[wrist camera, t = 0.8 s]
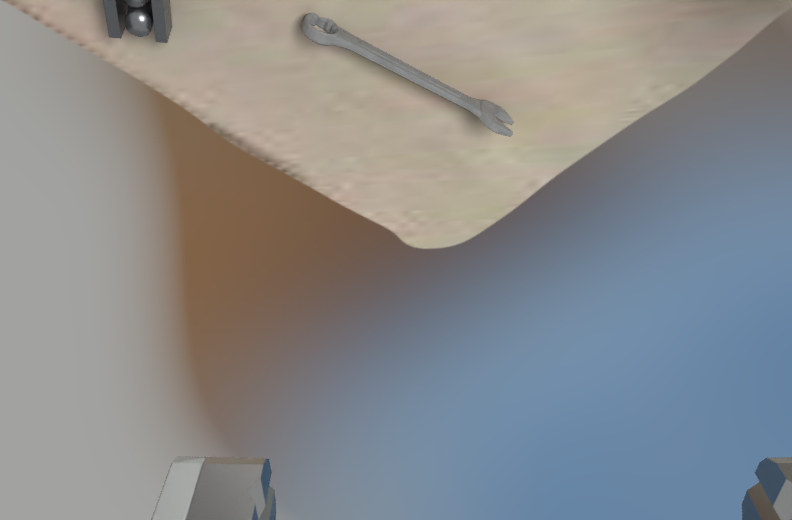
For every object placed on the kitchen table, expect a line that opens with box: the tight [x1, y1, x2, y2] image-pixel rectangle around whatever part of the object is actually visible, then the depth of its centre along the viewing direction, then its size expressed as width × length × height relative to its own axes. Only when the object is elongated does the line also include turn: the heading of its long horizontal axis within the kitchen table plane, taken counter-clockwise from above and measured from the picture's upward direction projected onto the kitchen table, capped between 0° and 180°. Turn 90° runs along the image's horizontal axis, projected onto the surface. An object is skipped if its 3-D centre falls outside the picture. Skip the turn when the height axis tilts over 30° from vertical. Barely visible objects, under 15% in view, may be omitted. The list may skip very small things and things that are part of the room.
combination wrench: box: [301, 13, 514, 137], centre depth 54 cm, size 4×1×20 cm
